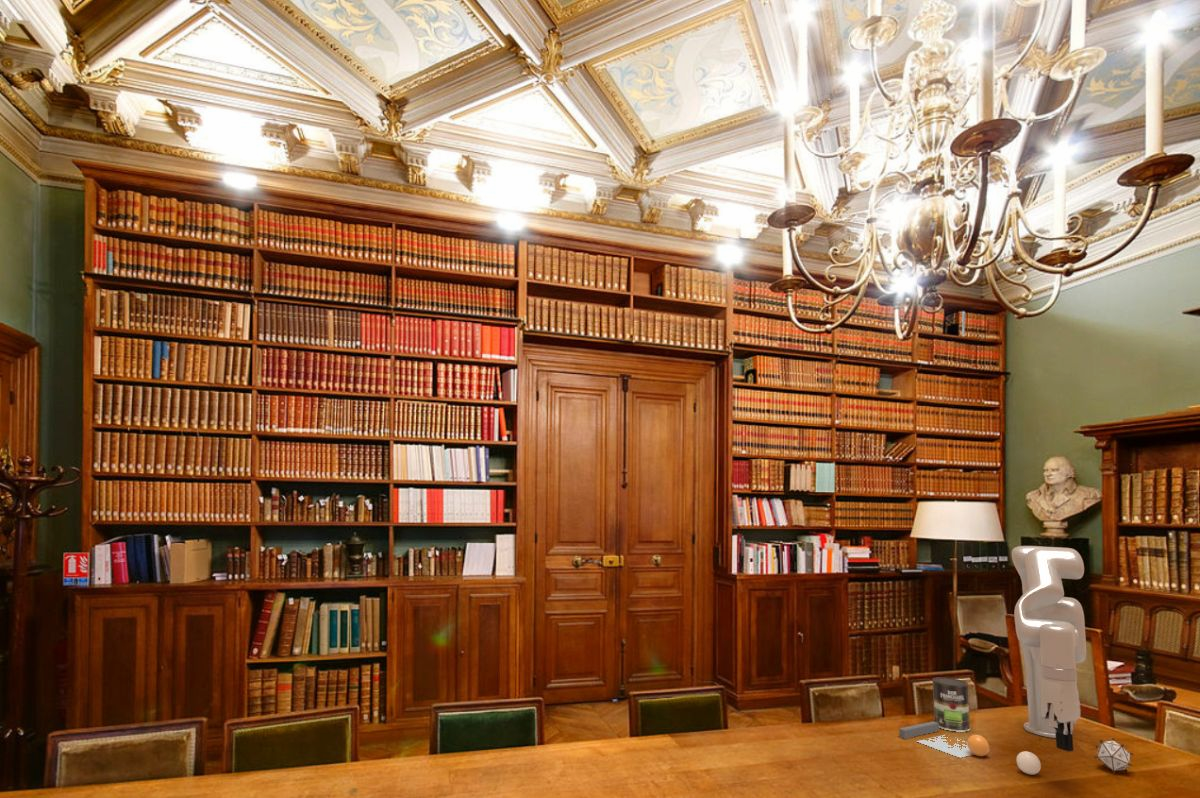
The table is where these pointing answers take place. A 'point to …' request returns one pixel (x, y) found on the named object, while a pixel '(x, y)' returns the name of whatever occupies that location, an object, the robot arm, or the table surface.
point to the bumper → (918, 729)
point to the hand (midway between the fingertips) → (1065, 749)
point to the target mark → (944, 747)
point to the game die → (1113, 755)
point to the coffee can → (951, 704)
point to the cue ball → (1028, 762)
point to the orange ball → (978, 745)
